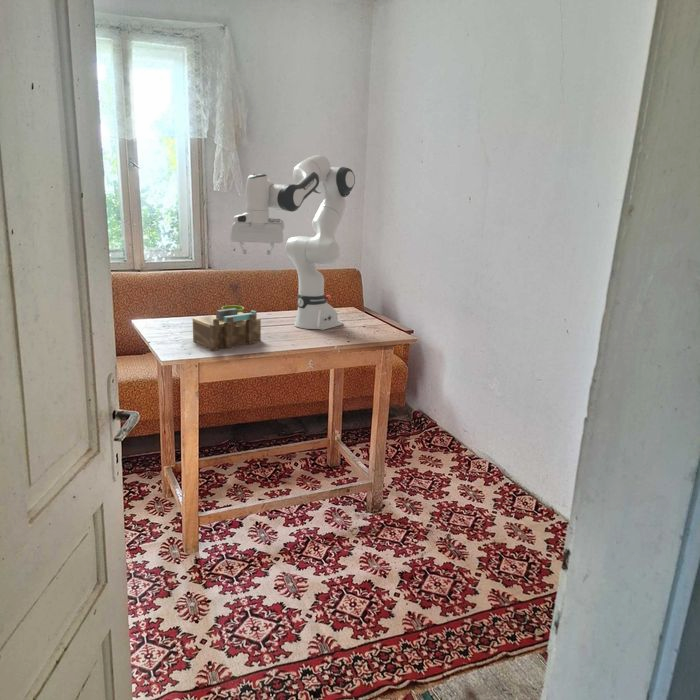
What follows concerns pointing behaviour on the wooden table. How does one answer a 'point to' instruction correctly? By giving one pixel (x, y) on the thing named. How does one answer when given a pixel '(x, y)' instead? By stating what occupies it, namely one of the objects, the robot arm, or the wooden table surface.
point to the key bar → (240, 316)
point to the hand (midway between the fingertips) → (256, 254)
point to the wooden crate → (227, 333)
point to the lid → (222, 318)
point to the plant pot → (239, 308)
